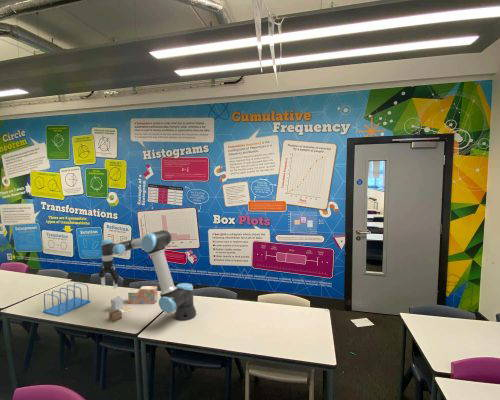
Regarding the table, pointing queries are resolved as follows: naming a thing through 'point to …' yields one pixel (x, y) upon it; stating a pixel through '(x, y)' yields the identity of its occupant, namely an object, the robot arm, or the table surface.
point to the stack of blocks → (143, 295)
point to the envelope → (125, 308)
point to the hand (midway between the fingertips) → (109, 286)
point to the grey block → (117, 303)
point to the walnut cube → (115, 315)
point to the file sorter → (66, 303)
